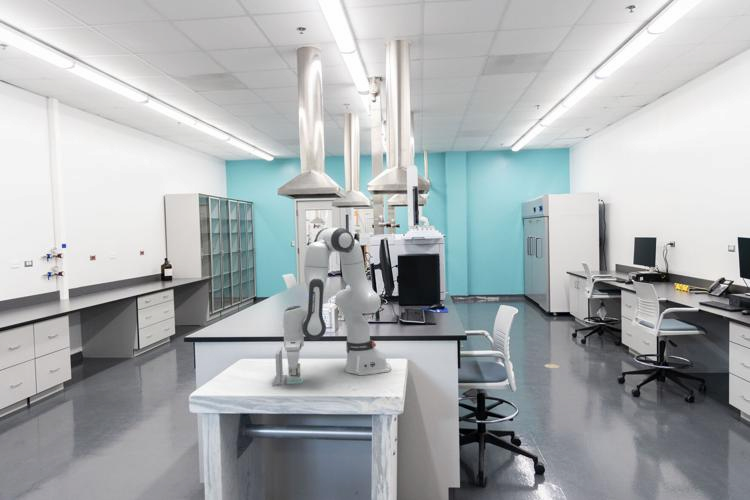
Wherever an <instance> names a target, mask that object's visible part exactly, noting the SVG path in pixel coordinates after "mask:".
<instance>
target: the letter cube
mask: <svg viewBox="0 0 750 500" xmlns="http://www.w3.org/2000/svg"><path fill="white" fill-rule="evenodd" d="M287 369H288V370H287V371H288V372H287V373H288V378H298V377H301V363H300V362H298V366H297V368H296V375H292V369H290V368H289V366H288V367H287Z"/></svg>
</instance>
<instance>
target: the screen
mask: <svg viewBox="0 0 750 500" xmlns="http://www.w3.org/2000/svg"><path fill="white" fill-rule="evenodd" d="M283 366H284V365H283V347H282V346H281V347H280V346H279V347H277V350H276V352H275V376H274V379H273V381H272V387H276V386H277V387H278V386H279V387H280V386H285V384H286V382H287V378H288V377H287V375H288V374H284V368H283Z"/></svg>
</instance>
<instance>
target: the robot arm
mask: <svg viewBox="0 0 750 500" xmlns="http://www.w3.org/2000/svg"><path fill="white" fill-rule="evenodd" d="M334 252H337V253H338V255H339V259H340V268H341V273H342V280H343V281H344V282H345V283H346V284H347V285H348V287H349V288H346V289H345V288H344V289H340V290H338V292H337V293H336V295H335V298H334V303H335V305H336V307H337V308H338V309H339V310H340V312H341V314H342V317H343V318H344V321H345V325H346V343H345V346H346V353H347V354H346V363H345V368H344V372H346V373H347V374H348V373H349V374H353V375H354V374H355V375H357V376H366V375H367V376H368V375H375V374H381V373H389V372H391V371H392V366H391V363H388V362H387V359H386V356H385V355H384V354H383V352H381V351H380V350H379V349H377V348H375V347H376V345H377V344H376V343H375V341H373V340H372V339H371V336H370V335H371V334H370V333H371V332H370V331H371V330H370V328H371V326H370V323H369V322H368V321H367V320H366V318H365V317H364V315H363V314H365V315H368V314H375V313H377V312H378V311H379V309H380V308H381V304H382V303H381V302H382V301H381V297H380V295H379V294H378V293H377V292H376V291H374V289H373V287H372V285H371V284H370V282H369V280H368V277H367V273H366V267H365V260H364V255H363V250H362V246H361V244H360V242H359V241H358V240H357V239H355V238H354V237H353V234H352V233H351V231H349V229H345V228H342V227H329V228H328V227H327V228H323V229H320V230H319V231H318V232H317V234H316V235H315V239H314V240H313V242H311V243H309V244H308V245H307V248H306V251H305V257H304V262H303V263H304V265H303V266H304V267H303V274H304V275H303V276H304V282H305V285H306V289H307V292H308V299H307V300H308V301H307V304H308V305H307V309H305V308H303V306H301V305H292V306H290V307H287V308H286V309H284V310H285V311H284V312H283V320H282V321H283V325H282V326H283V330H284V333H283V347H284V349H285V350H284V351H285V352H286V358H287V365H288V366H289V368H290V369H292V375H296V368H297V366H298V363H299V360H300V351H301V350H302V347H304V345H305V344H304V343H305V340H304V339H305V338H307V339H308V340H312V341H316V340H320V339H321V338H322V337H323V336H324V335H325V333H326V332H327V331H326V330H327V325H326V322H325V319H324V317H323V315H324V314H323V306H324V304H323V303H324V292H325V289H326V285H327V280H328V275H329V267H330V256H331V255H332V253H334ZM304 337H305V338H304Z"/></svg>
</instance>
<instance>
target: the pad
mask: <svg viewBox="0 0 750 500" xmlns="http://www.w3.org/2000/svg"><path fill="white" fill-rule="evenodd" d="M303 383H304V376H300V377H298V378H289V377H287V379H286V384H287V385H292V384H293V385H294V384H303Z"/></svg>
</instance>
